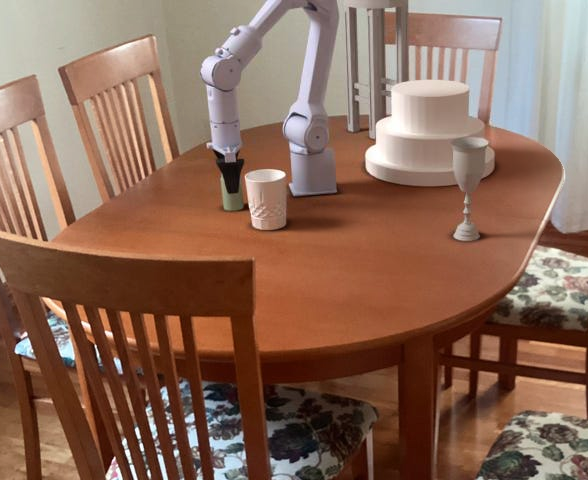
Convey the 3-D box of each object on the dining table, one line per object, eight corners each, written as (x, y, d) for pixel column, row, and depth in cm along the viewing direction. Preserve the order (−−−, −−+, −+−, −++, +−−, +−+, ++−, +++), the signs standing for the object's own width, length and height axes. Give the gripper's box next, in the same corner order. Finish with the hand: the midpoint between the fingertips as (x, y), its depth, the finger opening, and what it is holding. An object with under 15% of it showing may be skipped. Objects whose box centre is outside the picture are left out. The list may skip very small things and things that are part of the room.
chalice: (473, 245, 172) (476, 150, 163) (441, 238, 175) (443, 144, 166) (491, 233, 177) (495, 140, 168) (460, 226, 181) (462, 135, 171)
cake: (512, 179, 205) (517, 98, 196) (382, 191, 199) (380, 108, 190) (471, 143, 230) (473, 70, 221) (354, 153, 224) (351, 77, 215)
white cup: (297, 222, 184) (293, 173, 178) (272, 234, 178) (268, 184, 173) (266, 215, 187) (262, 166, 182) (241, 227, 182) (236, 177, 176)
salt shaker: (243, 203, 194) (239, 168, 190) (244, 209, 190) (241, 174, 186) (222, 205, 193) (218, 169, 189) (224, 211, 189) (220, 176, 185)
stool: (382, 120, 251) (380, -20, 233) (419, 131, 241) (420, -14, 223) (337, 130, 242) (331, -14, 224) (373, 142, 232) (370, -8, 214)
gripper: (202, 112, 187) (209, 178, 194) (206, 131, 175) (214, 200, 182) (236, 110, 189) (243, 175, 196) (243, 128, 177) (249, 197, 184)
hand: (231, 187), depth 189 cm, fingers open, 7 cm apart
